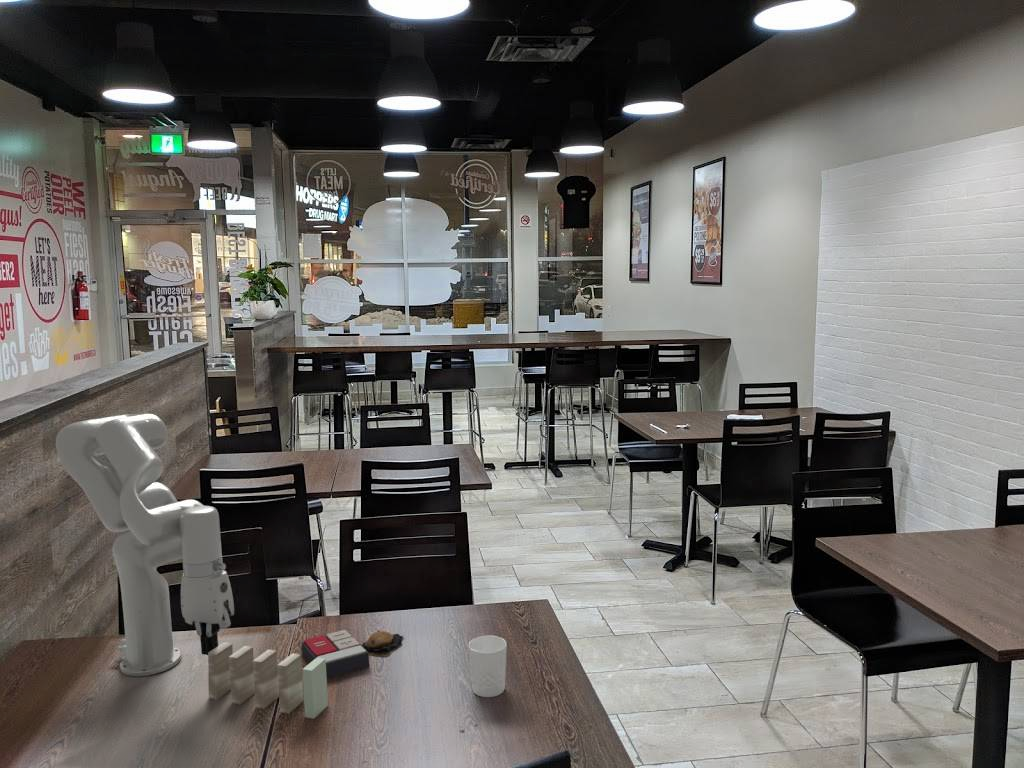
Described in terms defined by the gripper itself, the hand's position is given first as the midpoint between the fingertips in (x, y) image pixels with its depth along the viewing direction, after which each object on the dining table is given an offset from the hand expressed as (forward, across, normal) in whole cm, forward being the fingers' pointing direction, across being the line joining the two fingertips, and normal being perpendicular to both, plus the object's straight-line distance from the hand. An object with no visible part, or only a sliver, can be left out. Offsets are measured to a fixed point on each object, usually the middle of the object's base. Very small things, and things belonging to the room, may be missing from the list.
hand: (210, 651), depth 162 cm
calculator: (+10, -17, -20) cm, 28 cm away
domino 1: (+9, -2, 0) cm, 9 cm away
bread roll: (+10, -24, -29) cm, 39 cm away
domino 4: (+9, -19, 0) cm, 21 cm away
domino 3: (+9, -13, 0) cm, 16 cm away
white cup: (+10, -55, -18) cm, 58 cm away
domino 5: (+9, -25, 0) cm, 27 cm away
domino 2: (+9, -8, 0) cm, 12 cm away
